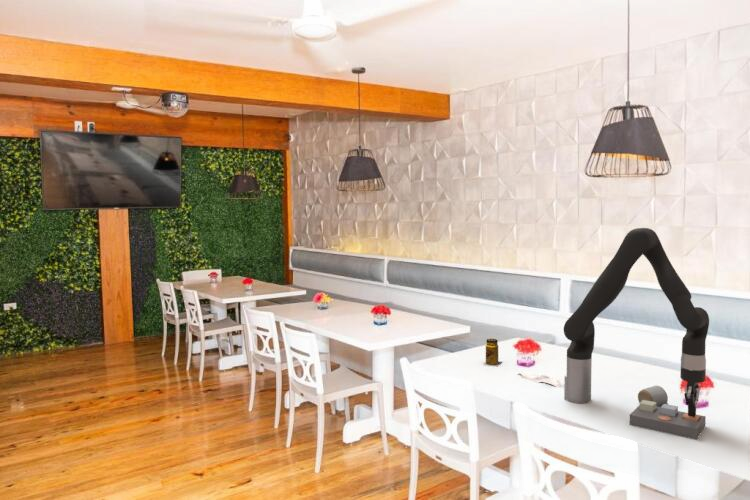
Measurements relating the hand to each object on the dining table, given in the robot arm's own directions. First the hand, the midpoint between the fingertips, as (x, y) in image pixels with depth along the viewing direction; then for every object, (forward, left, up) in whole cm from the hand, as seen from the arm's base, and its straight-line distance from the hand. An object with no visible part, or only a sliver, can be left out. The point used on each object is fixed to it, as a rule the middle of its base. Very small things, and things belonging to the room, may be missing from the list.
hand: (691, 415), depth 200 cm
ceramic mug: (-15, +14, -5) cm, 21 cm away
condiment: (-93, +33, -5) cm, 99 cm away
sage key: (-14, 0, -2) cm, 14 cm away
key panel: (-7, -2, -4) cm, 9 cm away
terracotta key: (0, 0, -3) cm, 3 cm away
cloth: (-62, +21, -5) cm, 66 cm away
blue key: (-7, 0, -1) cm, 7 cm away
